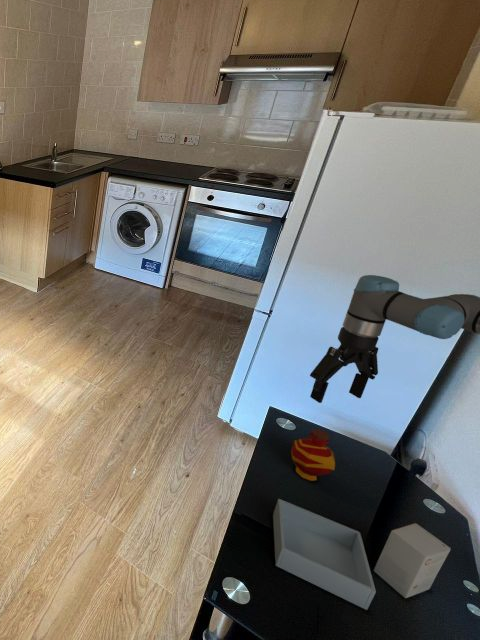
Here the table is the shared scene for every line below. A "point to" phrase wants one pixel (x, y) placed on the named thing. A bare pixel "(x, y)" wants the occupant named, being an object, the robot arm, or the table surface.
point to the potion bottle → (313, 455)
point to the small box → (411, 560)
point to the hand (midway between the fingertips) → (335, 397)
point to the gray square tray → (322, 553)
